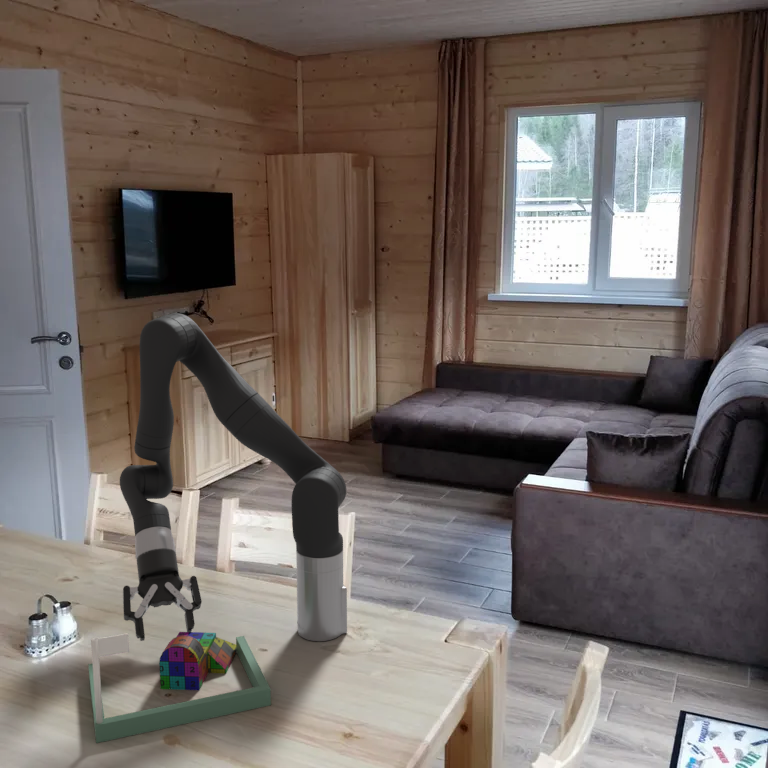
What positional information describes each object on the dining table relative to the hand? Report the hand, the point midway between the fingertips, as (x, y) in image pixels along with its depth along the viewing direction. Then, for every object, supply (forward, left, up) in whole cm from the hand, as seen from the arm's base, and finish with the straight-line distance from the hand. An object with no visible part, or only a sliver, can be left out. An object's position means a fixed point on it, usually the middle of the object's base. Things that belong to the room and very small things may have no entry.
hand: (166, 635), depth 153 cm
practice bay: (0, +12, -5) cm, 13 cm away
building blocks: (-5, +6, -5) cm, 9 cm away
